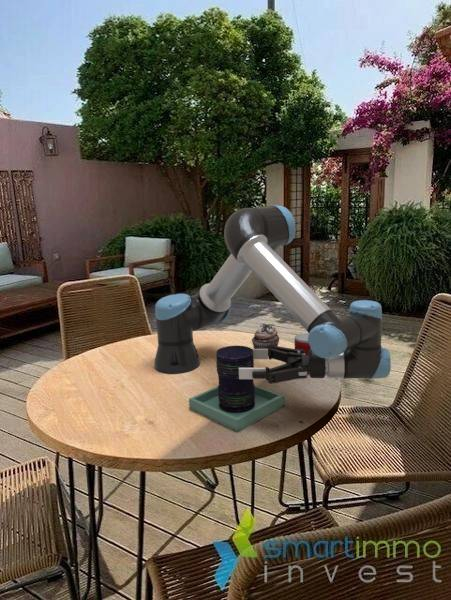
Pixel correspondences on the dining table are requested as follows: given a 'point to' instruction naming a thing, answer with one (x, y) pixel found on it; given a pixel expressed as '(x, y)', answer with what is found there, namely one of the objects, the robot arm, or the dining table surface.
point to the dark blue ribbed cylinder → (235, 379)
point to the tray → (236, 421)
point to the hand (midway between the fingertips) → (241, 363)
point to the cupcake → (265, 337)
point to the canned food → (302, 343)
